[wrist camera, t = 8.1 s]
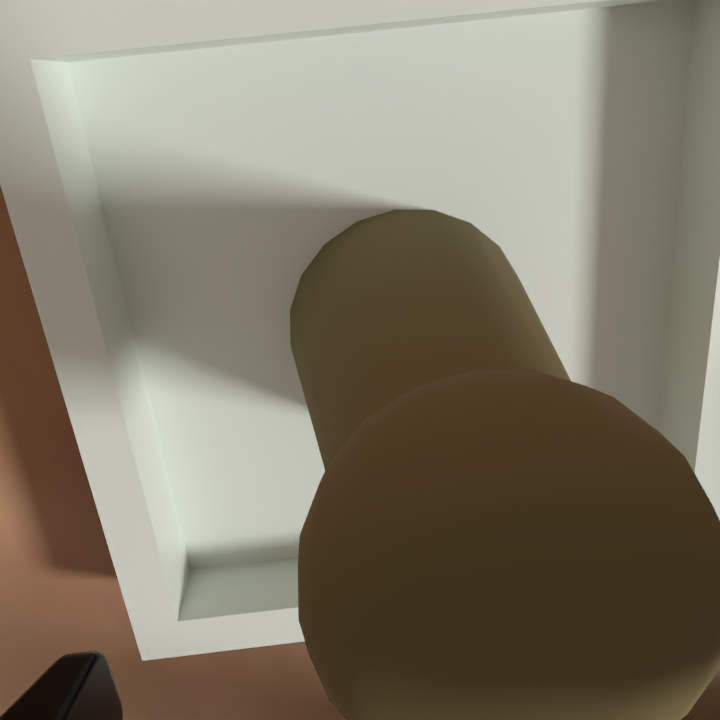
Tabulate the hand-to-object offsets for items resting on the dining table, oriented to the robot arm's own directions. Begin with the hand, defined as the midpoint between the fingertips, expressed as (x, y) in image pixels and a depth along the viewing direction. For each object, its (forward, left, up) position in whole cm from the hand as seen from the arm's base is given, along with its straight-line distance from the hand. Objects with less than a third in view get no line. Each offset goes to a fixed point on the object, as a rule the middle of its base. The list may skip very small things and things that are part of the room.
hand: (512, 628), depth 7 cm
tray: (0, 0, -11) cm, 11 cm away
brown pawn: (0, 0, -11) cm, 11 cm away
